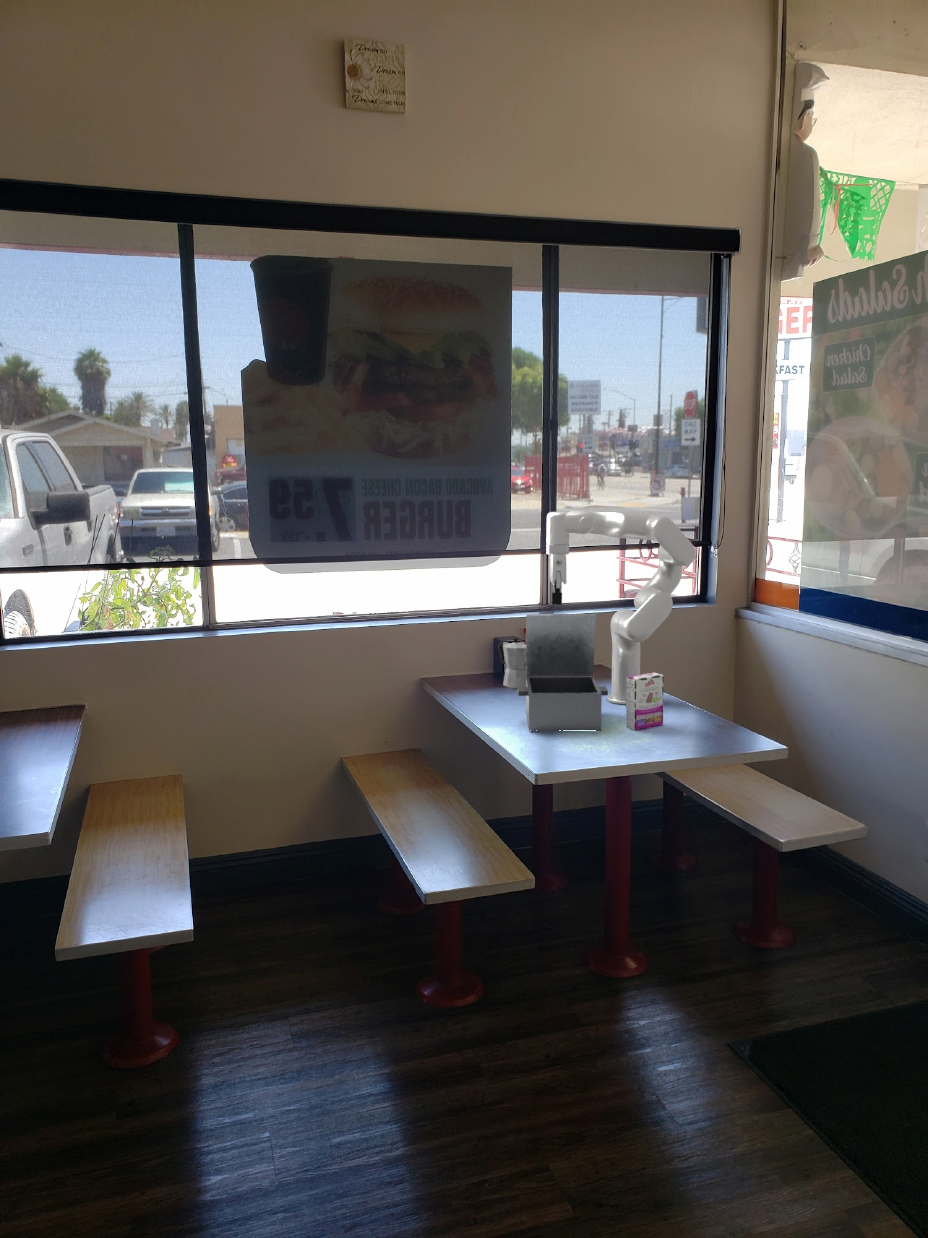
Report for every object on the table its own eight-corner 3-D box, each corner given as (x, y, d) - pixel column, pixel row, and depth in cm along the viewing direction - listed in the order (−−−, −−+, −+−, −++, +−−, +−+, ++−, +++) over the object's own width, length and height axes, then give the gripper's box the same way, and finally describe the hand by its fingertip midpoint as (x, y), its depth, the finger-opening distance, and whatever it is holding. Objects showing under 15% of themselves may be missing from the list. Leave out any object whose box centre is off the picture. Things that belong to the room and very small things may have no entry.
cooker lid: (593, 676, 295) (592, 671, 298) (596, 615, 286) (594, 611, 289) (525, 676, 295) (525, 672, 298) (526, 615, 286) (526, 611, 289)
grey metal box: (601, 712, 297) (602, 676, 295) (610, 731, 275) (611, 693, 273) (516, 712, 298) (516, 677, 296) (519, 731, 276) (519, 693, 274)
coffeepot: (537, 686, 333) (537, 638, 330) (520, 690, 326) (520, 642, 323) (506, 679, 344) (506, 633, 341) (489, 683, 337) (489, 636, 334)
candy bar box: (653, 722, 284) (654, 671, 282) (663, 726, 280) (664, 674, 277) (624, 727, 279) (625, 675, 277) (634, 731, 275) (635, 679, 272)
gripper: (571, 551, 290) (570, 607, 293) (567, 547, 304) (566, 601, 307) (547, 551, 290) (547, 607, 293) (544, 547, 305) (544, 601, 308)
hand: (556, 604), depth 300 cm, fingers closed
